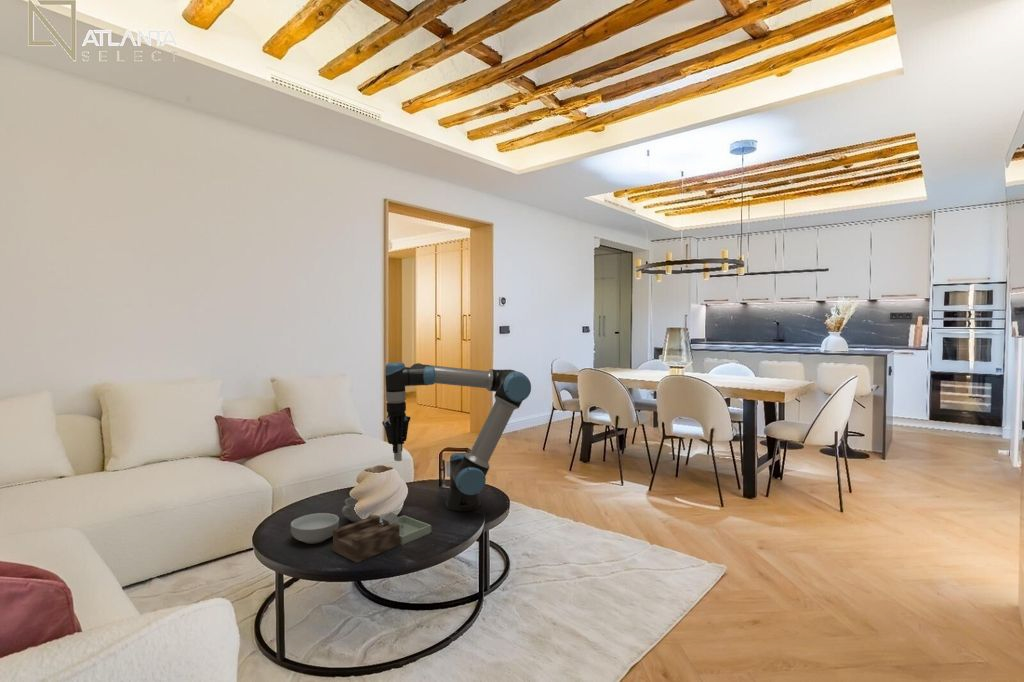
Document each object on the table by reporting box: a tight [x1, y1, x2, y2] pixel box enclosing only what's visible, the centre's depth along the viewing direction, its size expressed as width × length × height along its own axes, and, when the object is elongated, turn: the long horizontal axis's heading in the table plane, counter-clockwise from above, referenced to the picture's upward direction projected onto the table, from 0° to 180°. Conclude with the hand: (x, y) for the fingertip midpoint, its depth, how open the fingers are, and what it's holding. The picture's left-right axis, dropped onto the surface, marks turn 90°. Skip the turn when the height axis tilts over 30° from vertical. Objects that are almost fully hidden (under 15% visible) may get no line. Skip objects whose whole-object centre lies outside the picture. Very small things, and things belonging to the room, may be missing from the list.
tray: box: [381, 514, 432, 546], centre depth 197 cm, size 14×16×3 cm
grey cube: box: [399, 522, 404, 535], centre depth 194 cm, size 4×4×4 cm
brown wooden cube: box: [381, 511, 400, 526], centre depth 192 cm, size 4×4×4 cm
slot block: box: [332, 515, 401, 564], centre depth 184 cm, size 18×14×8 cm
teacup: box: [341, 496, 362, 523], centre depth 209 cm, size 14×11×8 cm
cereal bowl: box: [290, 512, 340, 545], centre depth 191 cm, size 17×17×7 cm
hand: (398, 460), depth 206 cm, fingers closed
